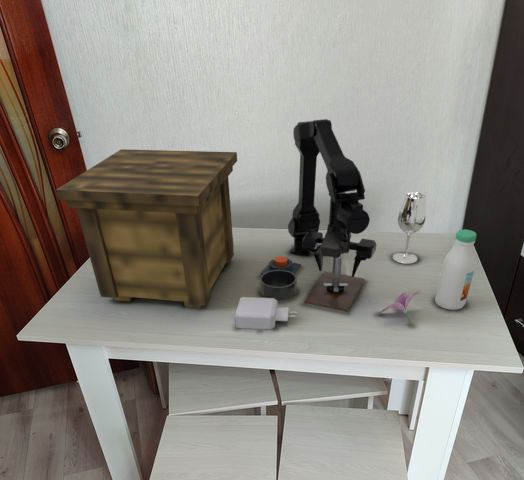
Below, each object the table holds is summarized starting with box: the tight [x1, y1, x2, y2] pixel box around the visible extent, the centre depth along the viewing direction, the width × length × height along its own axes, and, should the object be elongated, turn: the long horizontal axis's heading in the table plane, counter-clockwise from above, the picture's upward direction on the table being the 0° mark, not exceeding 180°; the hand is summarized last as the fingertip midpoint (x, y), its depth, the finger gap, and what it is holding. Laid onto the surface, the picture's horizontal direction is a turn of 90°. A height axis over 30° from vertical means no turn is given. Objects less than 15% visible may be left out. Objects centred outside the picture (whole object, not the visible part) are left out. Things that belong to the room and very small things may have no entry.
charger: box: [234, 296, 298, 330], centre depth 120 cm, size 5×9×15 cm
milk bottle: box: [434, 229, 477, 311], centre depth 120 cm, size 8×8×20 cm
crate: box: [55, 148, 238, 309], centre depth 130 cm, size 35×35×33 cm
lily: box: [377, 288, 422, 326], centre depth 119 cm, size 12×12×10 cm
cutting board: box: [303, 271, 366, 313], centre depth 132 cm, size 18×12×1 cm, turn 156°
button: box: [274, 255, 289, 267], centre depth 141 cm, size 4×4×2 cm
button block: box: [260, 258, 301, 276], centre depth 142 cm, size 10×9×3 cm
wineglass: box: [392, 191, 427, 265], centre depth 141 cm, size 8×8×20 cm
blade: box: [324, 255, 348, 294], centre depth 128 cm, size 7×7×10 cm
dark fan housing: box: [259, 270, 298, 301], centre depth 132 cm, size 10×10×4 cm
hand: (336, 273), depth 128 cm, fingers open, 9 cm apart
